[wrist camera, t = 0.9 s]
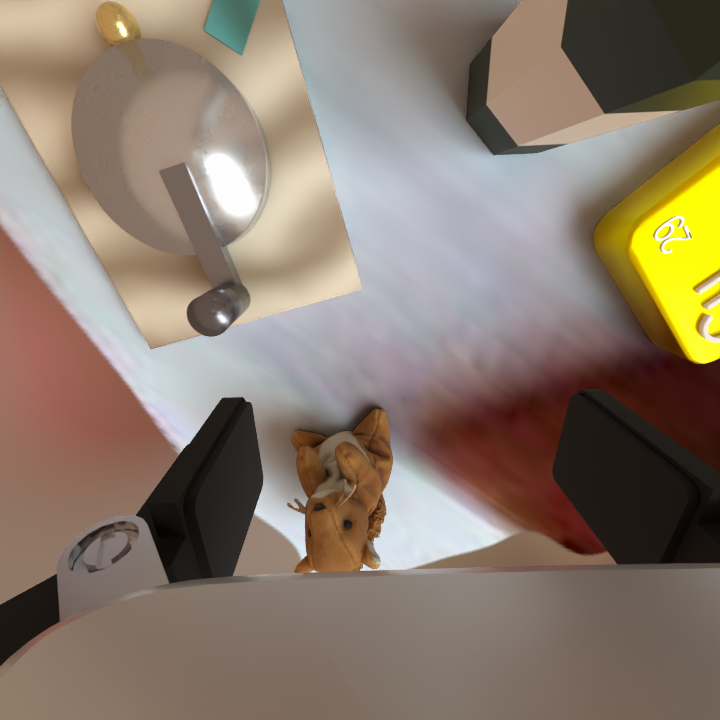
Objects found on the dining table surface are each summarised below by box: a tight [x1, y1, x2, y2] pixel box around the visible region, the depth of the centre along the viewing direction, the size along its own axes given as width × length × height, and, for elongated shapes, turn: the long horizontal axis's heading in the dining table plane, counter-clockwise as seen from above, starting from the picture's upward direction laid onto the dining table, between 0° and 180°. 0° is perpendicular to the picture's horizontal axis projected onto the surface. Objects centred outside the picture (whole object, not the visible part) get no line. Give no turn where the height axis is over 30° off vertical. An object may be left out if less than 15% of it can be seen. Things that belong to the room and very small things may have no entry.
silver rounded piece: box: [71, 1, 271, 336], centre depth 22 cm, size 19×12×7 cm, turn 16°
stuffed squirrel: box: [287, 409, 393, 573], centre depth 31 cm, size 10×14×13 cm
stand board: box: [0, 0, 362, 349], centre depth 25 cm, size 24×19×2 cm
